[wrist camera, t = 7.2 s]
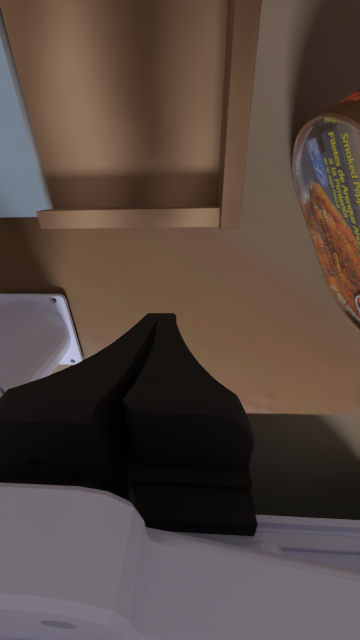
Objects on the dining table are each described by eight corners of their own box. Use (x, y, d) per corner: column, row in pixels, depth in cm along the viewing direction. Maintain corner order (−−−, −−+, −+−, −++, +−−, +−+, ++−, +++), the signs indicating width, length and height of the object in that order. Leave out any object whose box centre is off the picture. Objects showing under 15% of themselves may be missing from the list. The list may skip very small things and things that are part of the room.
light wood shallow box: (70, 220, 18) (31, 231, 14) (-5, -100, 11) (-135, -288, 7) (227, 218, 17) (238, 229, 13) (253, -124, 10) (297, -349, 6)
